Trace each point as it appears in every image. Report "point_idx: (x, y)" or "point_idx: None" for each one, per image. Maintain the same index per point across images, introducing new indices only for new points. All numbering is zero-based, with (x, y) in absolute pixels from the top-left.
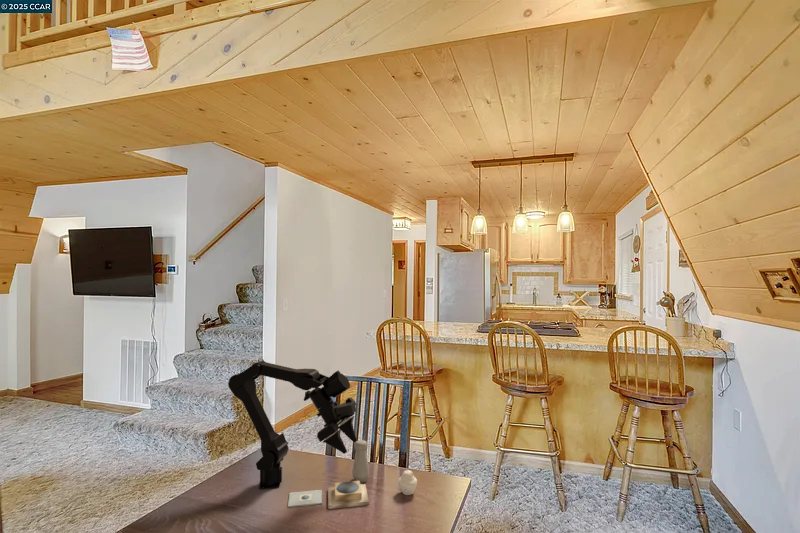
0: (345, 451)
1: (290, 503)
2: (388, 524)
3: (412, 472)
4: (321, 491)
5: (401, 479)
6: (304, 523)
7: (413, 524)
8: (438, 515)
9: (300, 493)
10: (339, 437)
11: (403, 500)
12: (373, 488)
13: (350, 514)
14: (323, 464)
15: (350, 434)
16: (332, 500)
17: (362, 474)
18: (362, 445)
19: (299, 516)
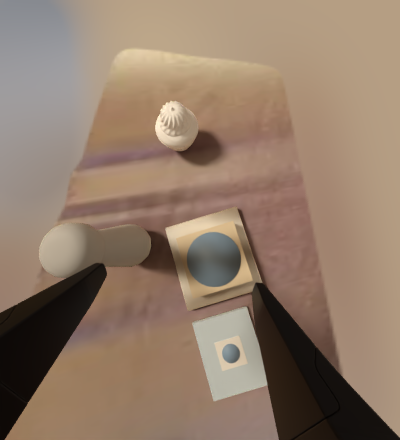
0: (265, 290)
1: (259, 381)
2: (293, 161)
3: (167, 102)
4: (199, 322)
5: (184, 133)
6: (320, 320)
7: (285, 120)
8: (251, 84)
9: (214, 372)
10: (355, 421)
11: (210, 146)
12: (170, 210)
13: (273, 235)
14: (61, 358)
15: (64, 316)
16: (243, 284)
17: (146, 237)
18: (90, 238)
19: None
